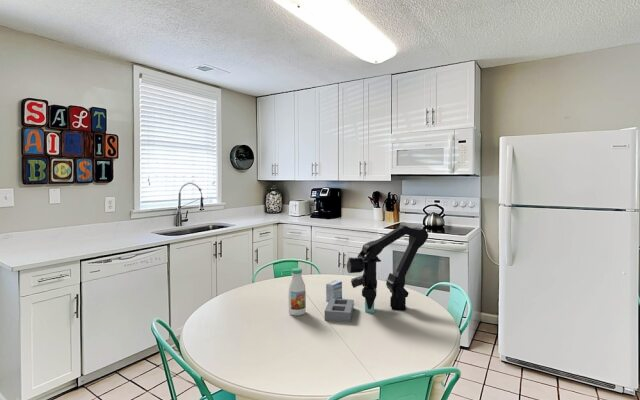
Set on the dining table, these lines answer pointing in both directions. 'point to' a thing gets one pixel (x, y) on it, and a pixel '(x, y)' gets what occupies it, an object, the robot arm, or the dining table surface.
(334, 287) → the medicine box
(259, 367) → the dining table surface
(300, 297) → the milk bottle
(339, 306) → the socket plate
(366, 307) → the plug
